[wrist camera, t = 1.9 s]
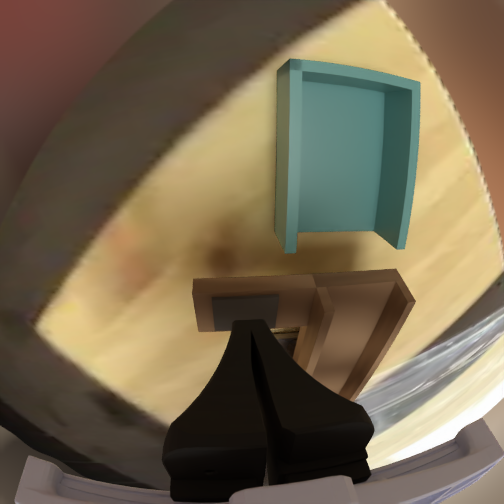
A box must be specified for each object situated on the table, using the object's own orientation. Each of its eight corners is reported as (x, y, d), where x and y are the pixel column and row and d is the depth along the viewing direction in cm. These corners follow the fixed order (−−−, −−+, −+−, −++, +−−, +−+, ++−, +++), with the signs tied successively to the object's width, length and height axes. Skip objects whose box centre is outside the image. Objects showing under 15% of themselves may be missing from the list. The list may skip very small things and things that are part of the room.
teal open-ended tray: (379, 229, 20) (404, 249, 17) (274, 231, 19) (285, 253, 16) (389, 85, 16) (420, 82, 13) (277, 70, 15) (289, 58, 12)
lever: (334, 403, 27) (339, 425, 25) (216, 414, 26) (217, 439, 24) (403, 268, 16) (423, 300, 14) (193, 278, 15) (190, 319, 13)
